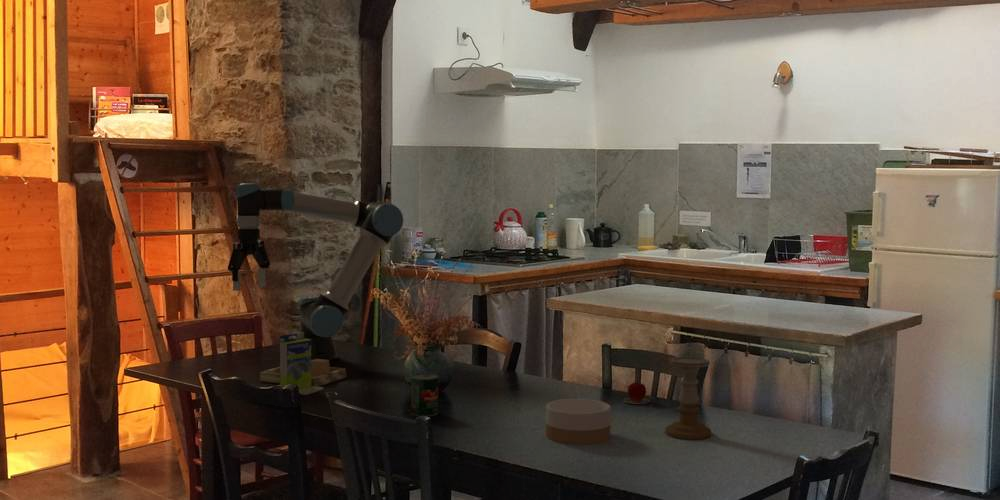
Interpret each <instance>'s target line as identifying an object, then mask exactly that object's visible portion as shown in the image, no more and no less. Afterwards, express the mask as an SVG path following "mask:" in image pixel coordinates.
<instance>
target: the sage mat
mask: <svg viewBox="0 0 1000 500" xmlns="http://www.w3.org/2000/svg"><path fill="white" fill-rule="evenodd" d="M277 386H281V384H279V385H277ZM323 390H324V387H323V386H318V387H316V386H308V387H303V388H299V393H300V394H299V395H305V396H308V395H310V394H313V393H317V392H320V391H323Z"/></svg>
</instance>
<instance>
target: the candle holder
mask: <svg viewBox="0 0 1000 500" xmlns="http://www.w3.org/2000/svg"><path fill="white" fill-rule="evenodd" d="M669 363H670V365H672V366H675V367H679V370H680V371H681V372H682V377H681V379H679V383H680V384H681V388H680V392H679V395H678V402H679V406H678V407H677V410H678V413H679V420H676V421H674V422H672V423H671V424H669V425H667V426H666V427H665V428H664V432H665V434H666V435H667V436H668V437H671V436H672V437H671V438H674V437H675V439H679V438H680V439H681V440H703V439H707V438H709V437H711V435H712V430H711V428H710V427H708V426H706V425H705V423H703V422H701V421H700V422H699V420H698V413H699V412H700V411H701V410H700V407H699V406H698V403H699V402H700V397H699V394H698V387H697V385H698V384H699V380H698V379H697V377H696V375H697V373H698V372H699V370H700V368H705V367H708V366H709V365H710V360H709V359H707V358H703V357H697V356H678V357H677V356H676V357H672V358H670V359H669ZM680 439H679V440H680Z"/></svg>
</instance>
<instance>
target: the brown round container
mask: <svg viewBox="0 0 1000 500" xmlns="http://www.w3.org/2000/svg"><path fill="white" fill-rule="evenodd" d="M611 415H612V414H611V405H610V404H609V403H607V402H604V401H600V400H596V399H591V398H590V399H588V398H565V399H556V400H553V401H549V402H548V403H547V404H546V405H545V437H546V438H547V439H548V440H550V441H552V442H556V443H559V444H565V445H574V444H579V445H581V446H582V445H585V446H586V445H595V444H596V443H597V444H601V442H602V443H605V442H607V441H609V440H610V439H611V421H612V420H611V418H612V416H611ZM608 439H609V440H608ZM604 441H605V442H604ZM579 445H578V446H579Z"/></svg>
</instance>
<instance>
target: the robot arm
mask: <svg viewBox="0 0 1000 500" xmlns="http://www.w3.org/2000/svg"><path fill="white" fill-rule="evenodd" d="M236 193H237V194H236V207H237V208H236V211H237V227H238V229H237V238H238V240H239V242H234V243H233V245H232V251H231V255H230V258H229V261H228V265H227V271H229V272H230V273H231V278H232V279H231V280H232V291H235V292H236V291H237V292H240V291H242V289H241V288H242V279H241V278H242V277H241V276H242V275H241V271H240V270H241V268H242V265H243V264H244V262H245V260H246V257H248V256H249V255H252V256H253V258H254V260H255V262H256V264H257V265H258V266H259V267H257V277H258V278H257V284H258V285H257V286H258V287H262V288H263V287H264V288H265V287H267V285H266V284H267V283H266V282H267V281H266V279H267V269H269V268H270V266H271V262H270V259H269V256H268V252H267V250H266V247H265V241H264V240H259V239H260V238H261V230H260V228H259V227H260V225H261V219H260V218H261V217H260V215H261V214H260V212H261V211H263V212H264V211H281V212H287V213H292V214H297V215H304V216H310V217H314V218H315V217H317V218H320V219H325V220H327V219H328V220H330V221H331V220H332V221H339V222H343V223H348V224H350V225H351V226H352V227H356V228H359V231H360V236H359V237H358V239H357V241H356V242H355V244H354V246H353V247H352V249H351V251H349V254H348V256H347V258H346V259H345V261H344V262H343V264H342V265H341V267H340V269H339V270H338V272H337V274H336V276H335V277H334V279H333V280H332V282H331V284H330V285H329V288H328V289H327V291H324V292H321V293H320V294H319V296H318V297H317V296H315V297H302V298H301V299H300V301H299V306H298V307H299V325H300V328H299V329H300V330H299V331H300V332H299V333H301V332H304V338H305V339H311V360H314V359H324V360H329V361H333V360H336V359H337V358H338V350H337V349H336V348H337V347H336V346H335V345H336V344H335V341H334V339H333V337H334V336H336V335H337V334H339V332H340V331H341V330H342V329H343V326H344V321H345V320H344V319H345V317H346V315H347V313H348V312H349V310H350V309H349V305H348V304H349V302H350V300H351V299H352V297H353V295H354V294H355V292H356V290H357V288H358V286H359V285H360V283H361V282H362V281H363V278H364V277H365V275H366V274H367V272H368V270H369V269H370V267H371V265H372V263H373V262H374V260H375V258H376V257H377V255H378V254H379V251H380V250H381V248H382V247H385V246H389V245H388V244H389V243H390V242H391V240H392V239H393V236H395V235H397V234H398V233H399V232H400V231H401V230H402V227H403V225H404V216H403V213H402V210H400V208H399V207H398V206H396V205H395V204H392V203H391V202H382V201H381V202H380V201H372V202H371V201H361V200H356V201H354V202H351V201H345V200H341V199H335V198H327V197H323V196H317V195H312V194H307V193H301V192H295V191H294V190H293V189H291V188H274V187H266V188H261V187H260V184H259V183H252V182H251V183H239V184H238V185H237V192H236Z"/></svg>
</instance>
